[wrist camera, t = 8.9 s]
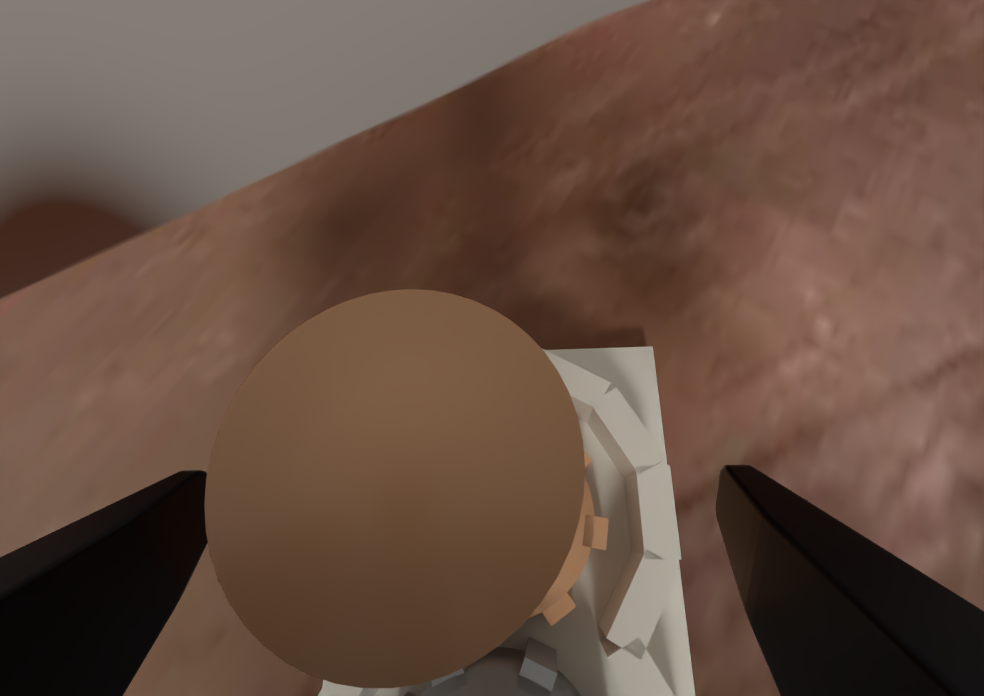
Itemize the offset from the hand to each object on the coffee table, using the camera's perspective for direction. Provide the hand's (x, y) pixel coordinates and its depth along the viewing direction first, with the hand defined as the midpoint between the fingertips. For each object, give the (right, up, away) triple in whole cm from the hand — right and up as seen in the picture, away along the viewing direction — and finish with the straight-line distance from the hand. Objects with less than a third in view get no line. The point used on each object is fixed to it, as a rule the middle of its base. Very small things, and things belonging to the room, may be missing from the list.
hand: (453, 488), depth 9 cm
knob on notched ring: (+1, -3, +9) cm, 9 cm away
